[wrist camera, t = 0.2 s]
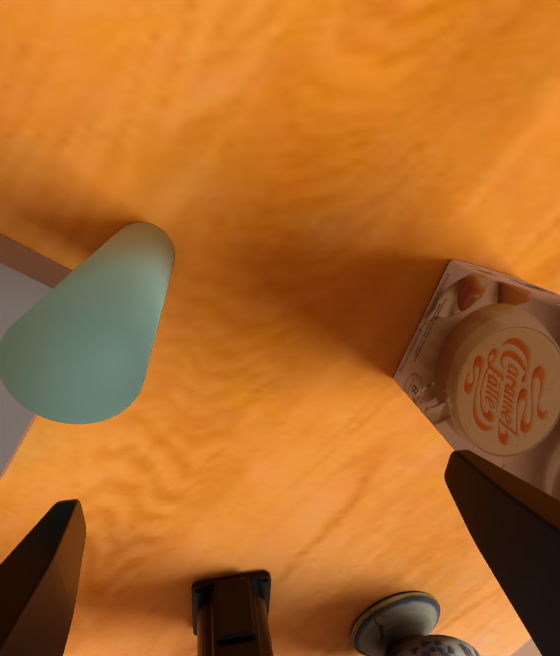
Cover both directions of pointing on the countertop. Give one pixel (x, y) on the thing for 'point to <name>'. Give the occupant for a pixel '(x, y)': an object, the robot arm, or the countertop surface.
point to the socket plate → (6, 308)
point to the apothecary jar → (405, 629)
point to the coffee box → (491, 371)
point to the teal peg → (91, 331)
